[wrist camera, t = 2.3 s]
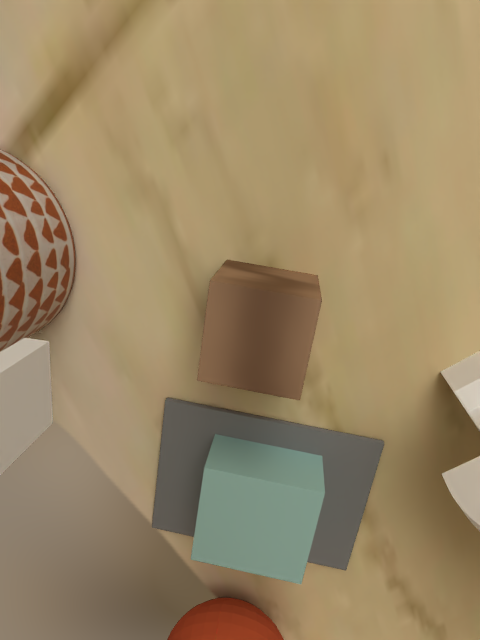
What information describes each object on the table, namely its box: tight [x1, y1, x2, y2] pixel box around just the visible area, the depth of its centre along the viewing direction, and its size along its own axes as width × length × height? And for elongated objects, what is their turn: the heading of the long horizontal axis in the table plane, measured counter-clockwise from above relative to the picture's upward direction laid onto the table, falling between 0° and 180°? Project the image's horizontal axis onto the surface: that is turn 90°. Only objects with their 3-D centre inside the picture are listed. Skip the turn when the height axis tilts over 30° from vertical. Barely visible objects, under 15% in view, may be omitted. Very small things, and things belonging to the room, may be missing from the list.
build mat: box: [152, 398, 384, 570], centre depth 34 cm, size 16×12×1 cm
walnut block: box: [197, 260, 322, 400], centre depth 27 cm, size 6×6×6 cm
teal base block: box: [191, 434, 325, 584], centre depth 32 cm, size 8×8×4 cm
